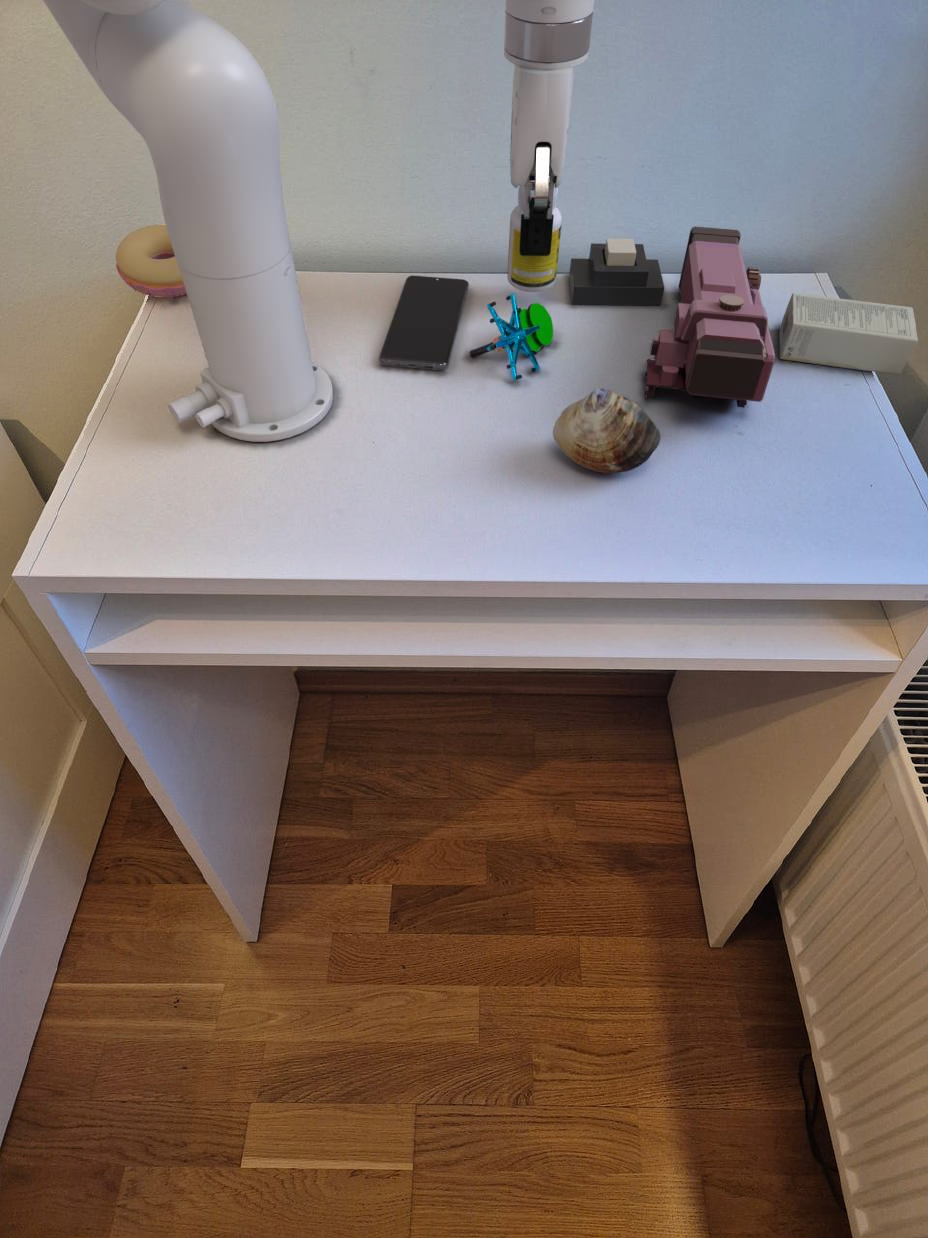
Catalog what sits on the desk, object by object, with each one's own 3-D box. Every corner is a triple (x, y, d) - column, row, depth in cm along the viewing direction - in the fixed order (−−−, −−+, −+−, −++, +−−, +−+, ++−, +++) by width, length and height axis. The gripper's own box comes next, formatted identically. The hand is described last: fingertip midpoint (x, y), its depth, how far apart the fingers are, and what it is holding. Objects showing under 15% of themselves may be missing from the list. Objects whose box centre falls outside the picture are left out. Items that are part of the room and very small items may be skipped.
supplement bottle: (563, 289, 86) (573, 197, 78) (516, 297, 85) (521, 205, 78) (546, 263, 89) (553, 172, 82) (500, 271, 89) (503, 180, 81)
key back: (631, 253, 89) (633, 238, 88) (633, 267, 87) (636, 252, 86) (604, 253, 89) (606, 238, 88) (606, 267, 87) (608, 252, 86)
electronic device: (739, 315, 92) (764, 224, 85) (763, 441, 73) (798, 337, 66) (644, 306, 93) (661, 215, 86) (643, 428, 74) (665, 324, 67)
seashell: (541, 473, 73) (549, 401, 66) (559, 434, 76) (567, 363, 69) (643, 498, 71) (661, 427, 64) (657, 458, 74) (675, 386, 67)
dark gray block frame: (654, 277, 93) (661, 243, 90) (660, 305, 89) (668, 271, 86) (569, 276, 93) (572, 242, 90) (571, 304, 89) (575, 270, 86)
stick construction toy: (521, 381, 77) (492, 301, 75) (466, 401, 81) (436, 326, 79) (572, 351, 86) (547, 279, 83) (519, 371, 90) (494, 302, 88)
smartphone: (377, 359, 81) (407, 273, 91) (378, 367, 82) (407, 282, 92) (447, 365, 81) (470, 278, 90) (447, 374, 82) (470, 287, 91)
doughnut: (94, 233, 89) (106, 268, 93) (135, 283, 84) (145, 317, 88) (185, 207, 93) (193, 241, 97) (228, 253, 89) (235, 287, 92)
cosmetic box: (777, 359, 83) (898, 379, 81) (792, 321, 79) (919, 341, 78) (779, 325, 87) (894, 343, 85) (793, 288, 83) (914, 306, 81)
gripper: (504, 2, 74) (498, 199, 89) (505, 72, 64) (498, 282, 79) (584, 2, 74) (565, 200, 89) (597, 72, 64) (574, 283, 78)
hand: (534, 237), depth 84 cm, fingers closed on supplement bottle, 5 cm apart
